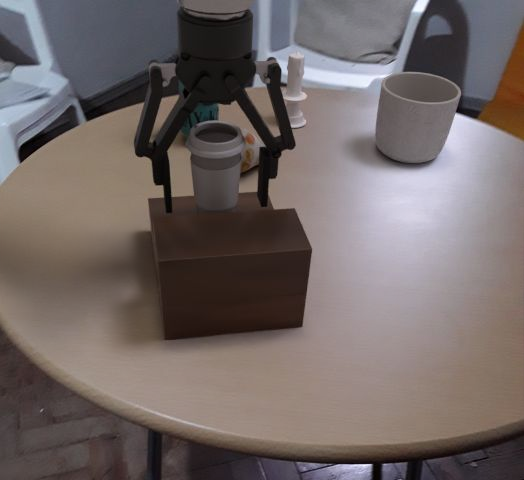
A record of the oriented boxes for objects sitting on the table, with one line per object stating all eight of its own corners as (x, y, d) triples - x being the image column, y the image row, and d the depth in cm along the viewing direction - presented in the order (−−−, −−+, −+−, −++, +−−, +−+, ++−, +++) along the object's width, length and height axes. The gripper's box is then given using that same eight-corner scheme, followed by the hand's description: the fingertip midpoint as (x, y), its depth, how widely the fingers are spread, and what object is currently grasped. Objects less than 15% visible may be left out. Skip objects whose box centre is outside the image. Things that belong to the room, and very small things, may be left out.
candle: (279, 113, 114) (284, 44, 106) (308, 117, 113) (315, 47, 105) (273, 126, 110) (278, 55, 102) (303, 130, 110) (310, 59, 101)
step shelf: (150, 230, 86) (143, 155, 78) (265, 222, 89) (269, 149, 81) (164, 340, 71) (158, 261, 63) (302, 326, 73) (312, 249, 66)
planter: (395, 175, 100) (410, 108, 92) (356, 141, 108) (367, 76, 100) (458, 163, 104) (477, 97, 96) (416, 130, 112) (431, 67, 104)
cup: (207, 202, 82) (205, 113, 74) (252, 217, 80) (256, 126, 72) (178, 229, 77) (173, 137, 69) (226, 245, 76) (227, 152, 67)
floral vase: (288, 168, 100) (274, 128, 91) (236, 201, 100) (217, 164, 91) (266, 138, 103) (250, 96, 94) (216, 170, 103) (195, 131, 94)
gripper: (320, -5, 66) (300, 182, 81) (92, -4, 62) (117, 193, 77) (340, 18, 61) (315, 214, 76) (93, 21, 57) (119, 227, 72)
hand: (215, 204), depth 77 cm, fingers open, 11 cm apart
